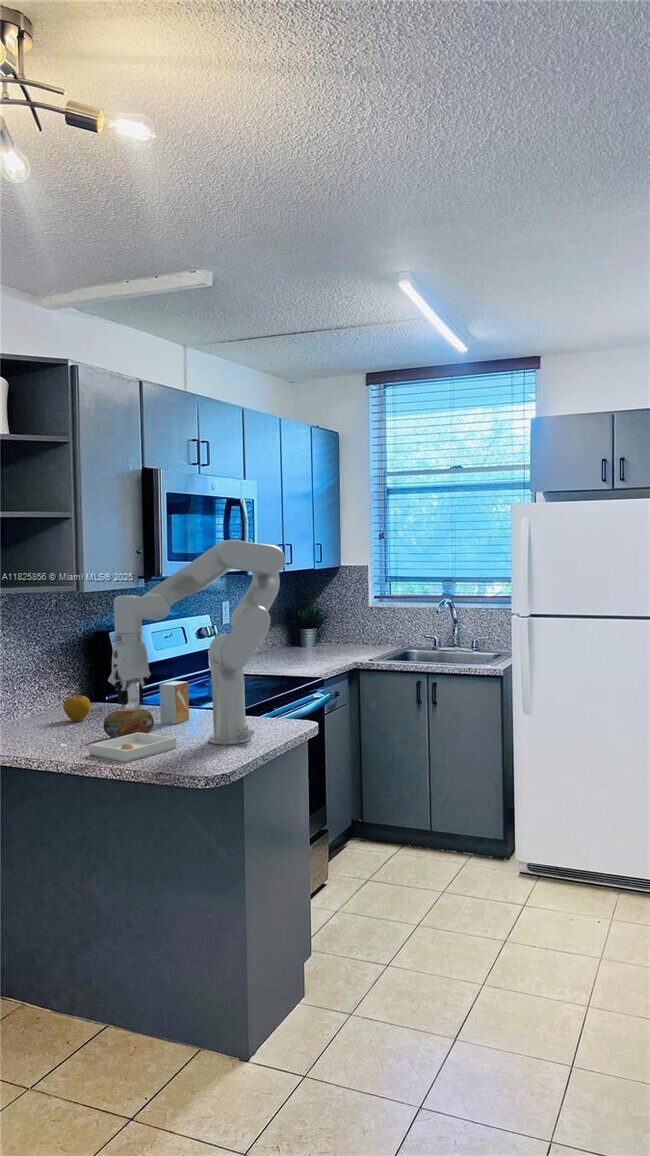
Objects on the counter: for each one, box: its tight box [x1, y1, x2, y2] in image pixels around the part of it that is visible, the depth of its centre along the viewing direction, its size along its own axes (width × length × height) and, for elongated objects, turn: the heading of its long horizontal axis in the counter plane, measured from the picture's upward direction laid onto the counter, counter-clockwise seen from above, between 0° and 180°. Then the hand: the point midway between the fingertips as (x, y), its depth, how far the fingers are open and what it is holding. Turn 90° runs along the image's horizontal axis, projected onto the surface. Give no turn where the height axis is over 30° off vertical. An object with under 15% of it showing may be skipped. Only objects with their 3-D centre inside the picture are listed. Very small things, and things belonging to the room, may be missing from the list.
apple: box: [63, 694, 92, 722], centre depth 287 cm, size 9×9×9 cm
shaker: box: [121, 678, 141, 711], centre depth 239 cm, size 5×5×9 cm
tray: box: [88, 732, 177, 763], centre depth 239 cm, size 16×18×3 cm
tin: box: [103, 708, 155, 739], centre depth 260 cm, size 15×3×8 cm, turn 101°
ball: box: [121, 743, 134, 750], centre depth 232 cm, size 4×4×4 cm
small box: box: [159, 680, 190, 725], centre depth 280 cm, size 8×6×13 cm
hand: (130, 702), depth 239 cm, fingers closed on shaker, 5 cm apart
